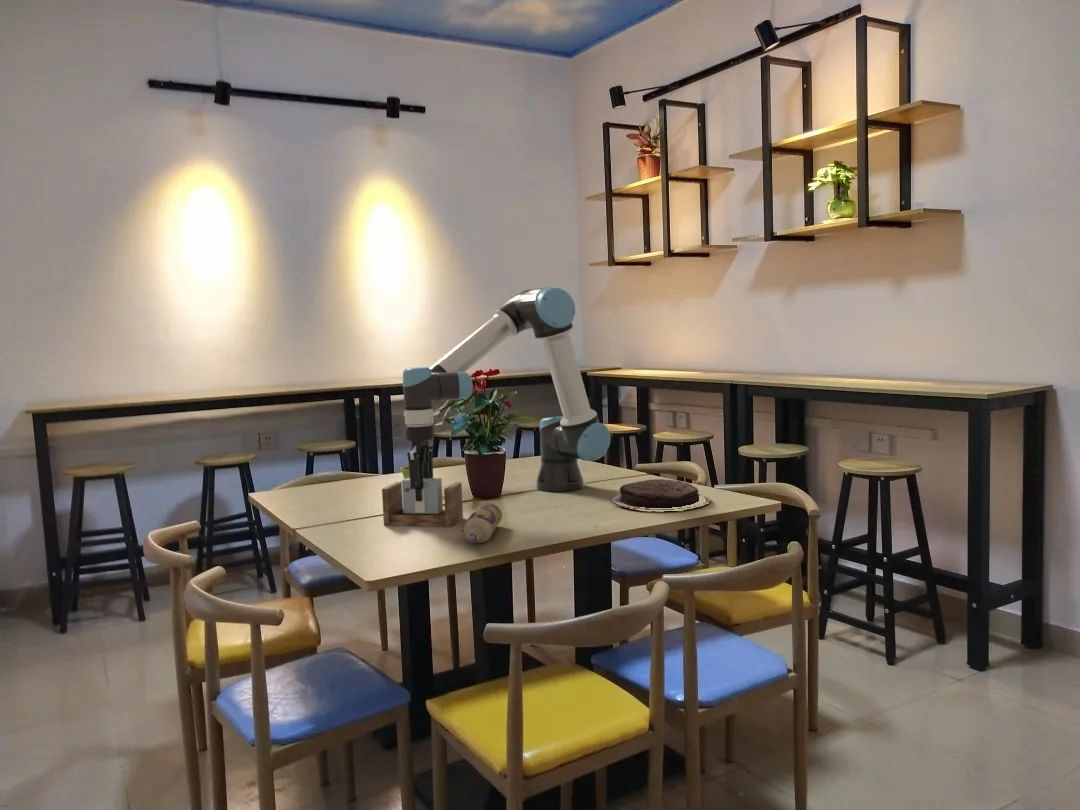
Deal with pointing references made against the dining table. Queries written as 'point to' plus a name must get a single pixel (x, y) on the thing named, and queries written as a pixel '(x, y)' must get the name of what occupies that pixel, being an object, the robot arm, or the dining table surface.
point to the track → (398, 518)
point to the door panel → (431, 496)
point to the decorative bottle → (482, 523)
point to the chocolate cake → (658, 495)
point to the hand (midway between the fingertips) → (423, 510)
